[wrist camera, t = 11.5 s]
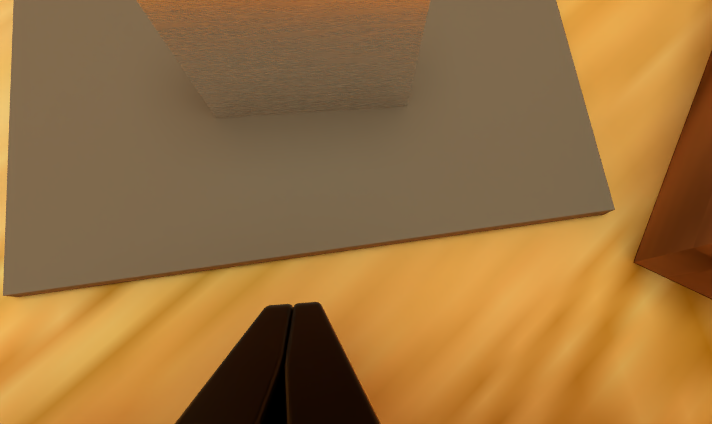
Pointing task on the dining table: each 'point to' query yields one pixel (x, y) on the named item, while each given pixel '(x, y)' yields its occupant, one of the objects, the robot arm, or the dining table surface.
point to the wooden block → (294, 52)
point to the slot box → (685, 204)
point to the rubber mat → (279, 149)
